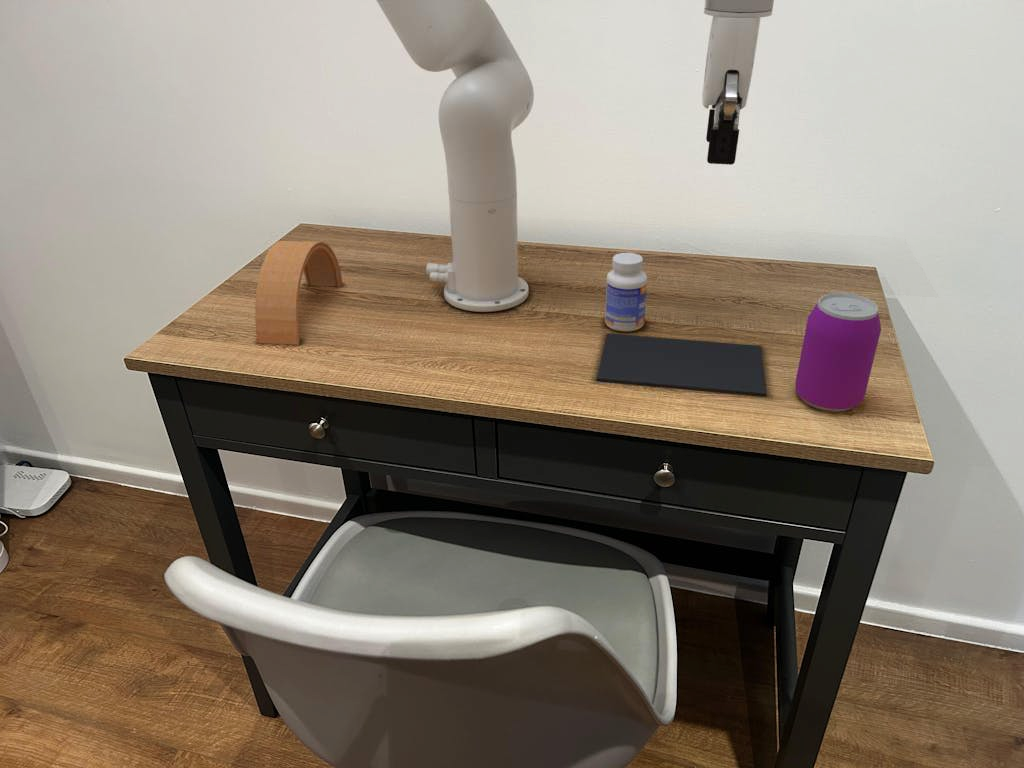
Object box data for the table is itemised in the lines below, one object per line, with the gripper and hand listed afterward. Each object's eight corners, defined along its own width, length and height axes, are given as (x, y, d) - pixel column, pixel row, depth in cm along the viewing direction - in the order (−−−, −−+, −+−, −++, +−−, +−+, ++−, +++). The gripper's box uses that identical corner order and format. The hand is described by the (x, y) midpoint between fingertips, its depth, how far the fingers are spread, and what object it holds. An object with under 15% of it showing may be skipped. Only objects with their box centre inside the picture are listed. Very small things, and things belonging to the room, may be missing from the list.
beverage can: (855, 383, 97) (877, 291, 91) (868, 417, 90) (893, 322, 84) (789, 378, 98) (806, 288, 92) (798, 412, 91) (817, 318, 85)
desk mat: (596, 380, 98) (596, 378, 98) (606, 335, 108) (606, 333, 108) (766, 396, 95) (766, 393, 94) (760, 348, 105) (760, 345, 104)
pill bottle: (646, 332, 109) (651, 265, 104) (606, 332, 109) (609, 266, 104) (641, 314, 114) (646, 250, 108) (602, 315, 114) (606, 250, 109)
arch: (344, 283, 124) (335, 221, 119) (298, 345, 107) (286, 275, 102) (308, 282, 125) (298, 220, 120) (256, 342, 108) (242, 274, 103)
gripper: (704, -9, 98) (689, 133, 107) (706, 8, 84) (688, 170, 93) (767, -8, 97) (746, 136, 106) (780, 9, 83) (755, 174, 92)
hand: (719, 152), depth 99 cm, fingers open, 9 cm apart
